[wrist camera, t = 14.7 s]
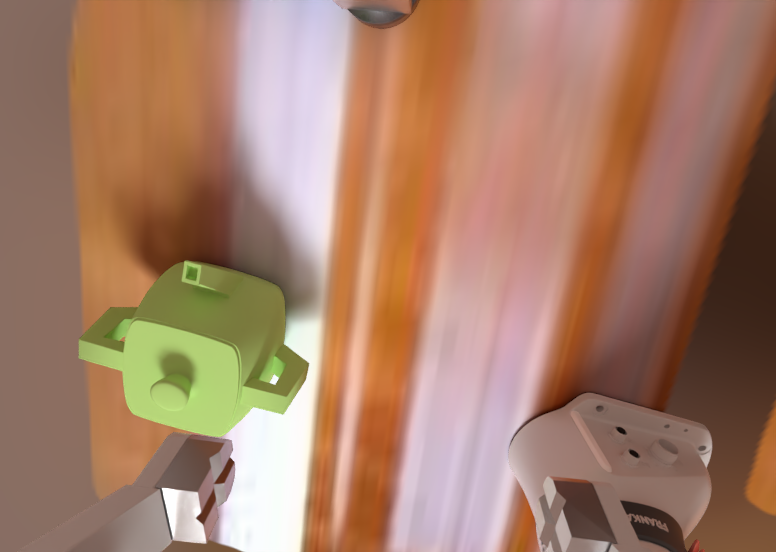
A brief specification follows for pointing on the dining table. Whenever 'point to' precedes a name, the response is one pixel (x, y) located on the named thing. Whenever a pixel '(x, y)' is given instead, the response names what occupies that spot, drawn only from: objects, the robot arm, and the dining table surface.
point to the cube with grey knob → (377, 5)
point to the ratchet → (382, 17)
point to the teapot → (200, 349)
